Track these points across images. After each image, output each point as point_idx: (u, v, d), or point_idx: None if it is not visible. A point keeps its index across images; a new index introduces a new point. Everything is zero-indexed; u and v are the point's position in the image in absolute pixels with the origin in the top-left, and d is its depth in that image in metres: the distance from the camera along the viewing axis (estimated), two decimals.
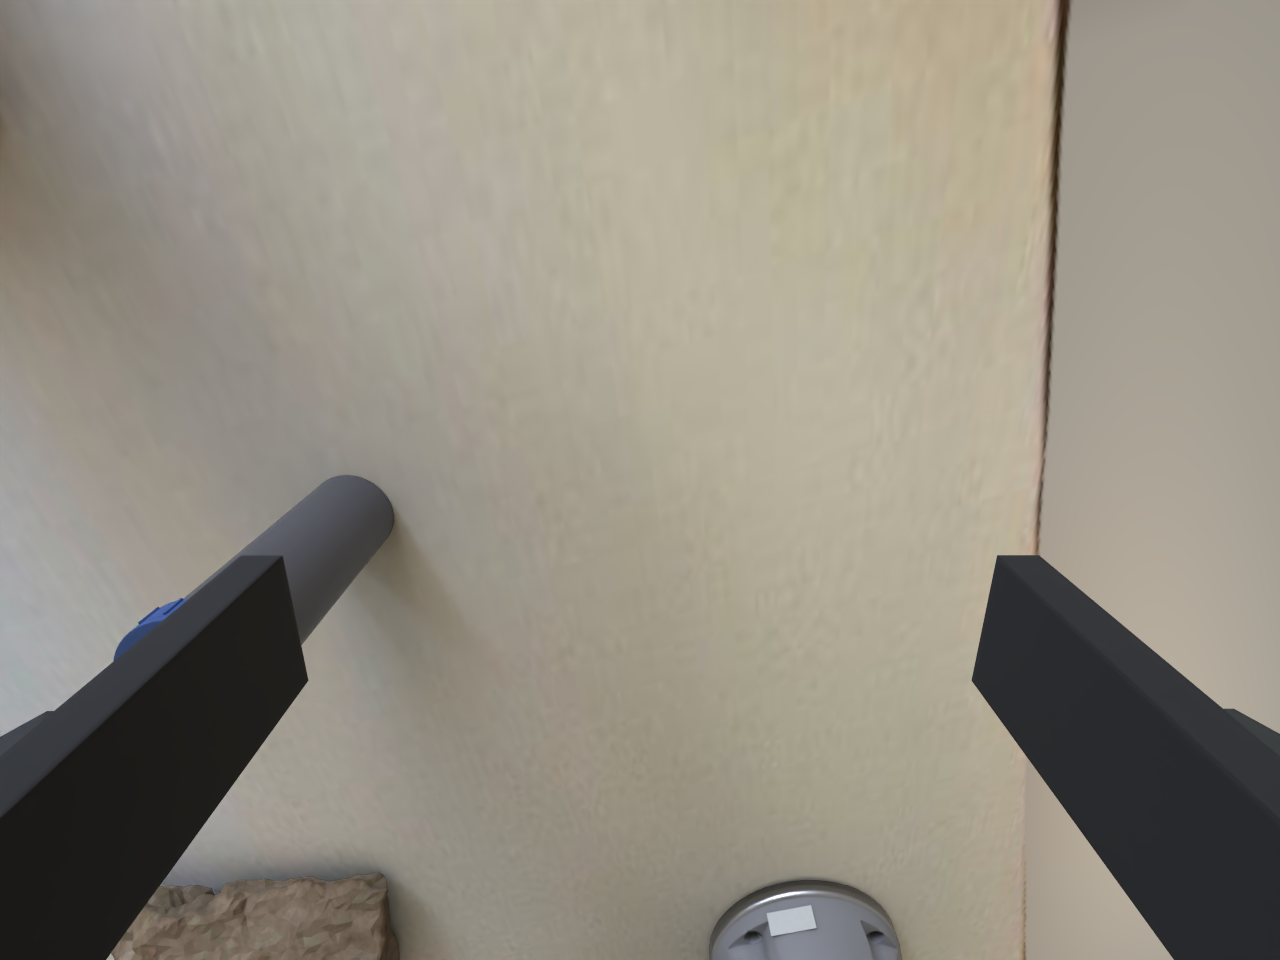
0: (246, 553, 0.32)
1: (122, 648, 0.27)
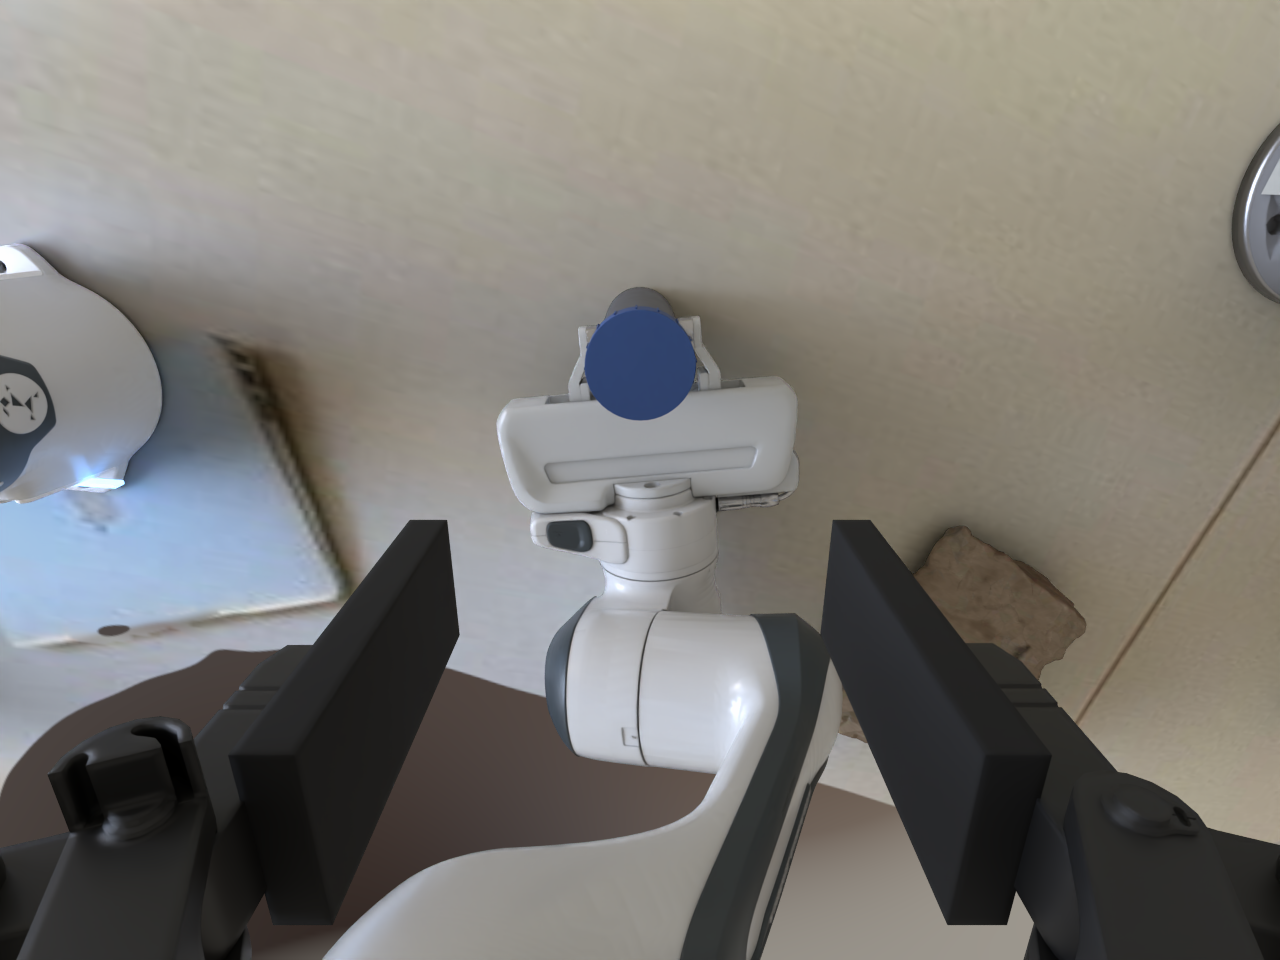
0: None
1: (593, 388, 0.36)
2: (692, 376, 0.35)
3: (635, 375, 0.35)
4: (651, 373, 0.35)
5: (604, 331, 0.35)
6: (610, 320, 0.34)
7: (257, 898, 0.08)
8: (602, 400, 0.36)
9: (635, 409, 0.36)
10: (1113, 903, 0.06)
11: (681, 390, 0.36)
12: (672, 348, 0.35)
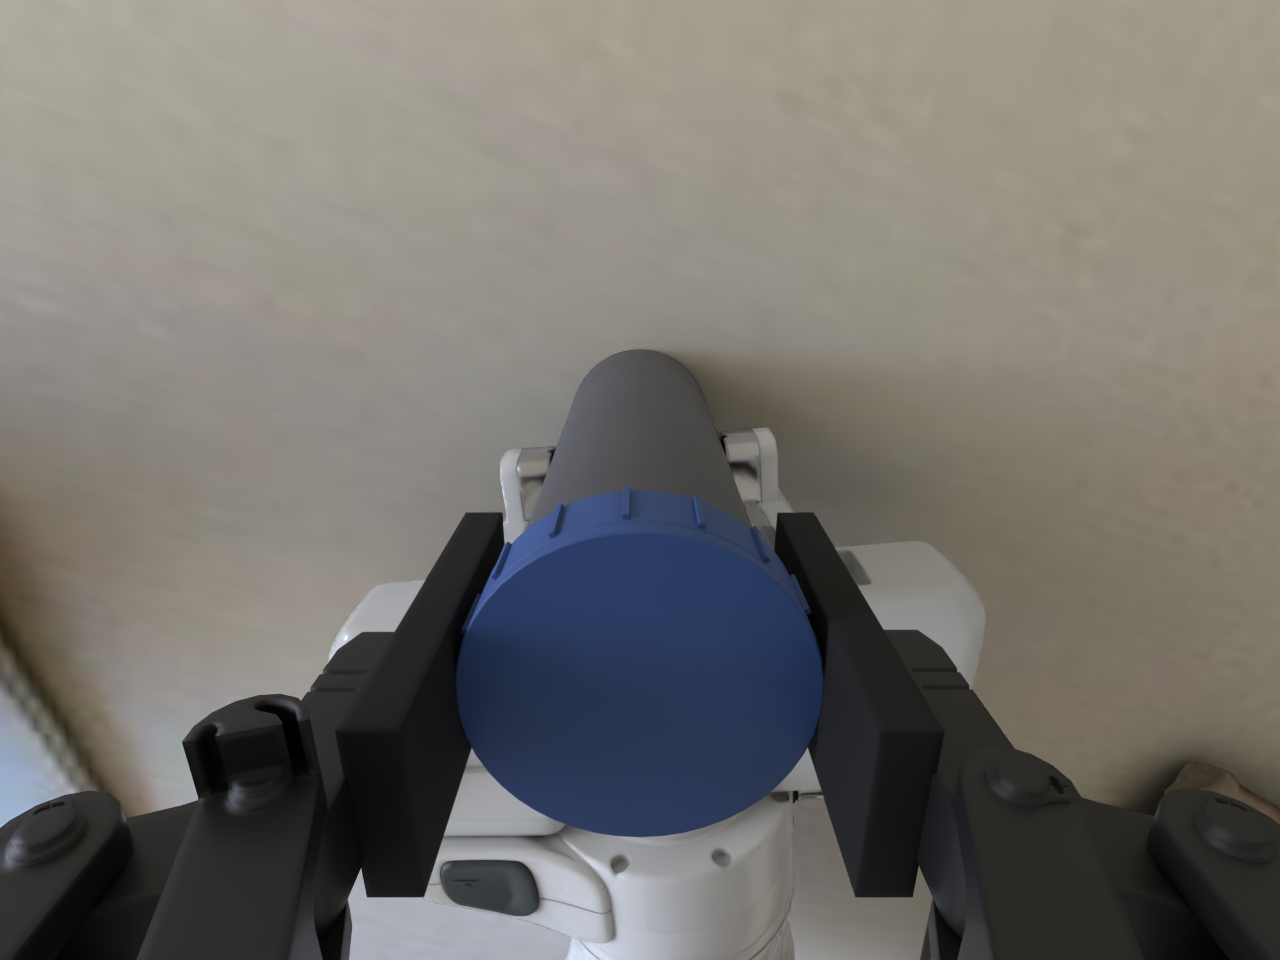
0: None
1: (488, 756, 0.11)
2: (810, 725, 0.11)
3: (623, 722, 0.11)
4: (676, 717, 0.11)
5: (515, 597, 0.10)
6: (535, 564, 0.10)
7: (356, 870, 0.09)
8: (519, 787, 0.11)
9: (624, 810, 0.11)
10: (994, 875, 0.06)
11: (772, 762, 0.11)
12: (748, 648, 0.10)
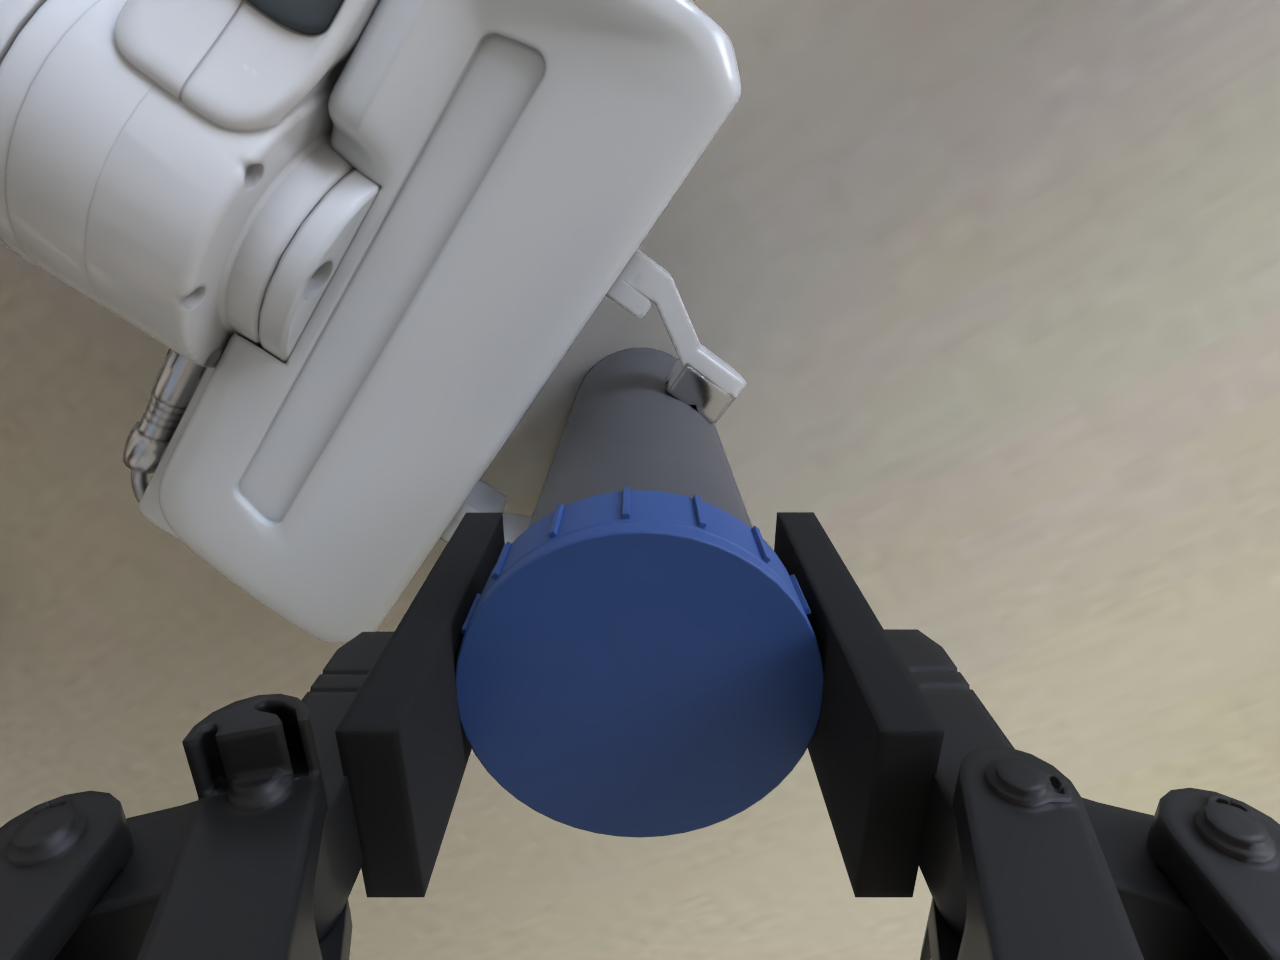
0: (728, 469, 0.17)
1: (488, 756, 0.11)
2: (810, 725, 0.11)
3: (623, 722, 0.11)
4: (676, 717, 0.11)
5: (515, 597, 0.10)
6: (535, 564, 0.10)
7: (357, 870, 0.09)
8: (519, 787, 0.11)
9: (624, 810, 0.11)
10: (994, 875, 0.06)
11: (772, 762, 0.11)
12: (748, 648, 0.10)
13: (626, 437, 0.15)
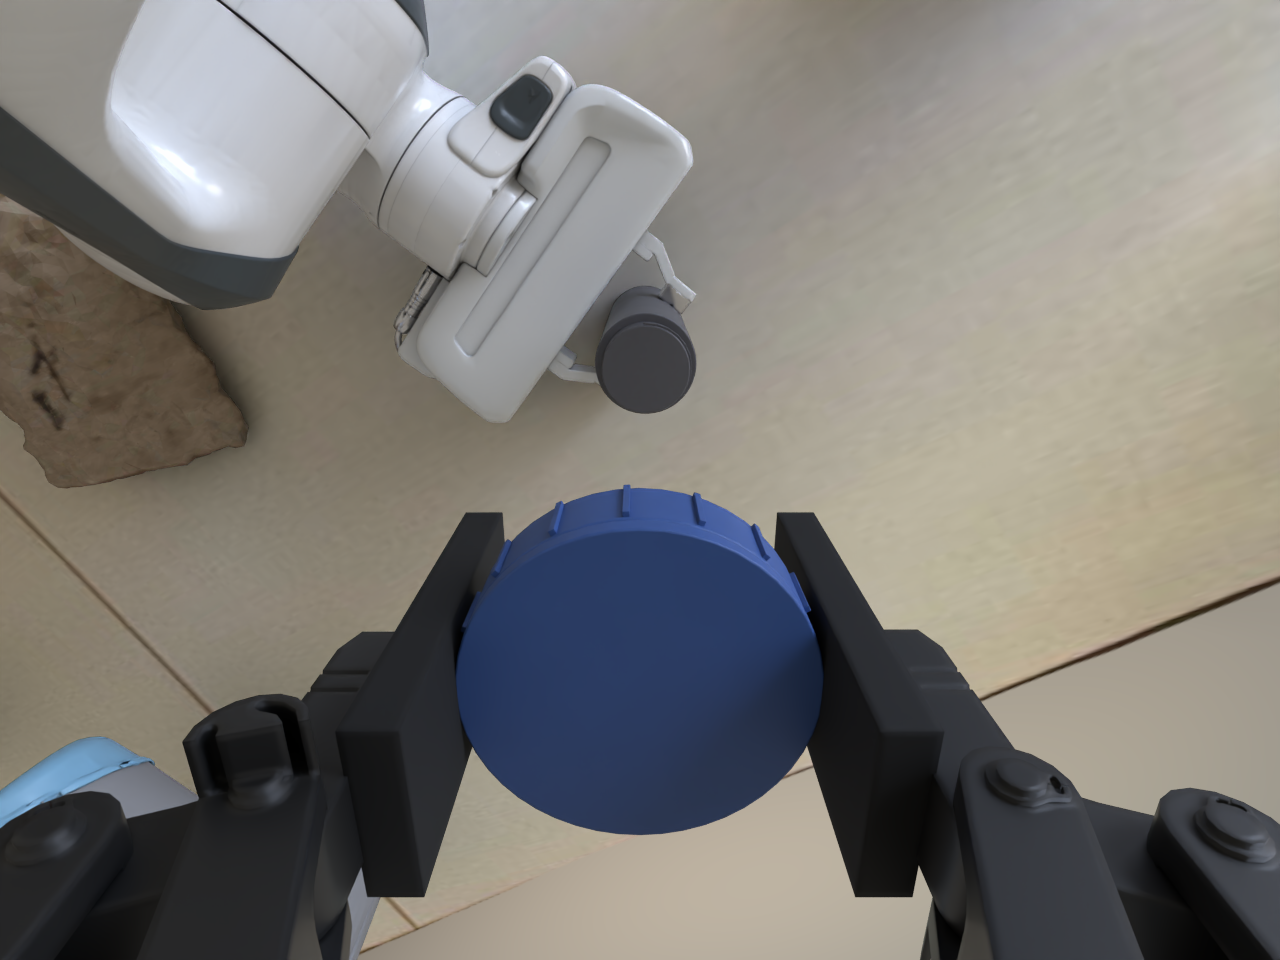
0: (684, 325, 0.38)
1: (488, 754, 0.11)
2: (810, 723, 0.11)
3: (623, 720, 0.11)
4: (676, 714, 0.11)
5: (515, 595, 0.10)
6: (534, 562, 0.10)
7: (357, 869, 0.09)
8: (519, 785, 0.11)
9: (624, 808, 0.11)
10: (994, 875, 0.06)
11: (771, 759, 0.11)
12: (748, 645, 0.10)
13: (641, 305, 0.37)
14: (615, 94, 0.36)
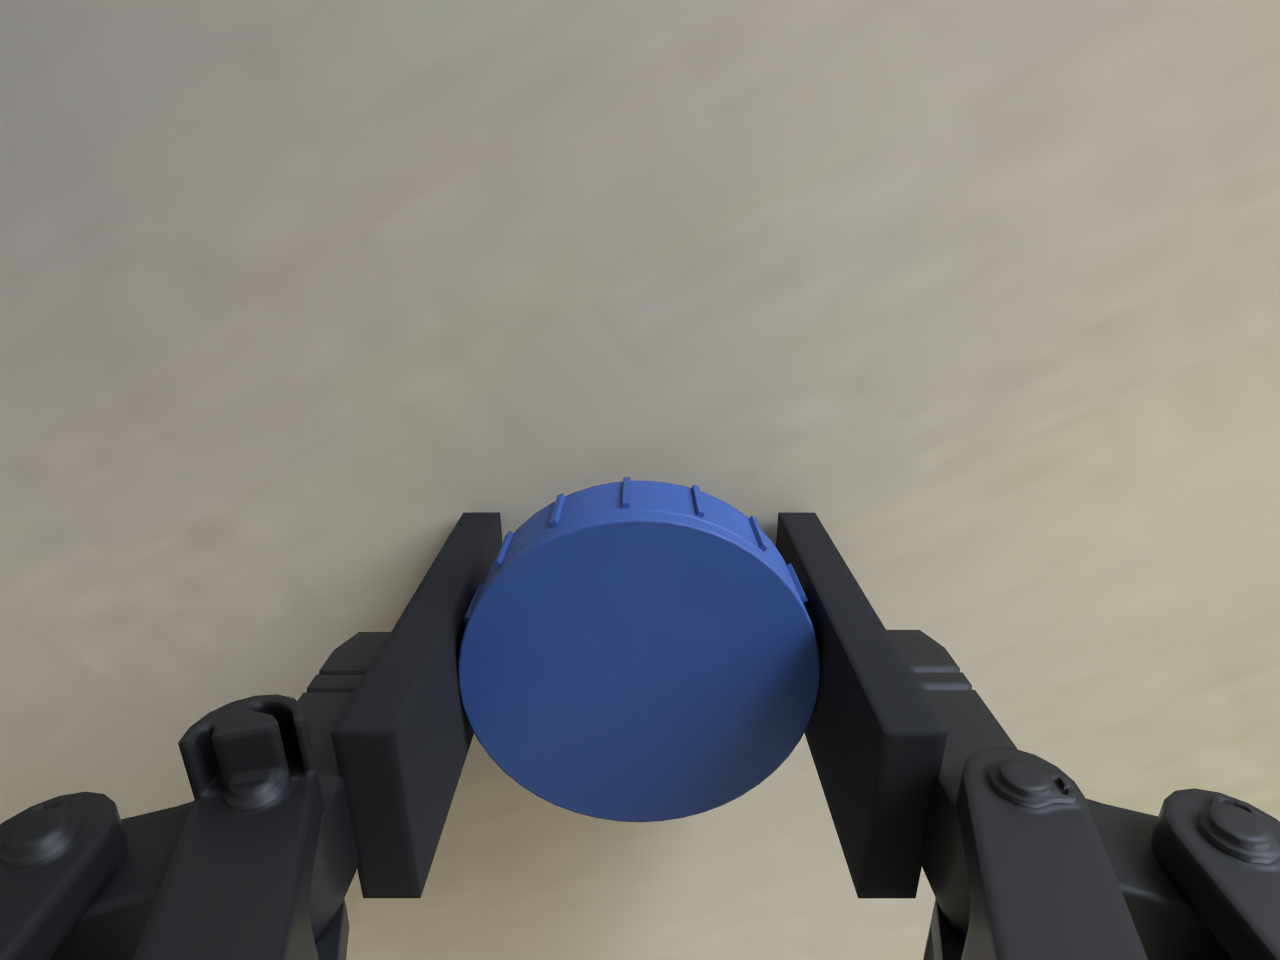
0: None
1: (490, 742, 0.11)
2: (806, 711, 0.11)
3: (623, 708, 0.11)
4: (675, 703, 0.11)
5: (518, 585, 0.10)
6: (536, 552, 0.10)
7: (352, 870, 0.09)
8: (521, 772, 0.11)
9: (624, 795, 0.12)
10: (997, 876, 0.06)
11: (769, 747, 0.11)
12: (746, 634, 0.11)
13: None
14: None
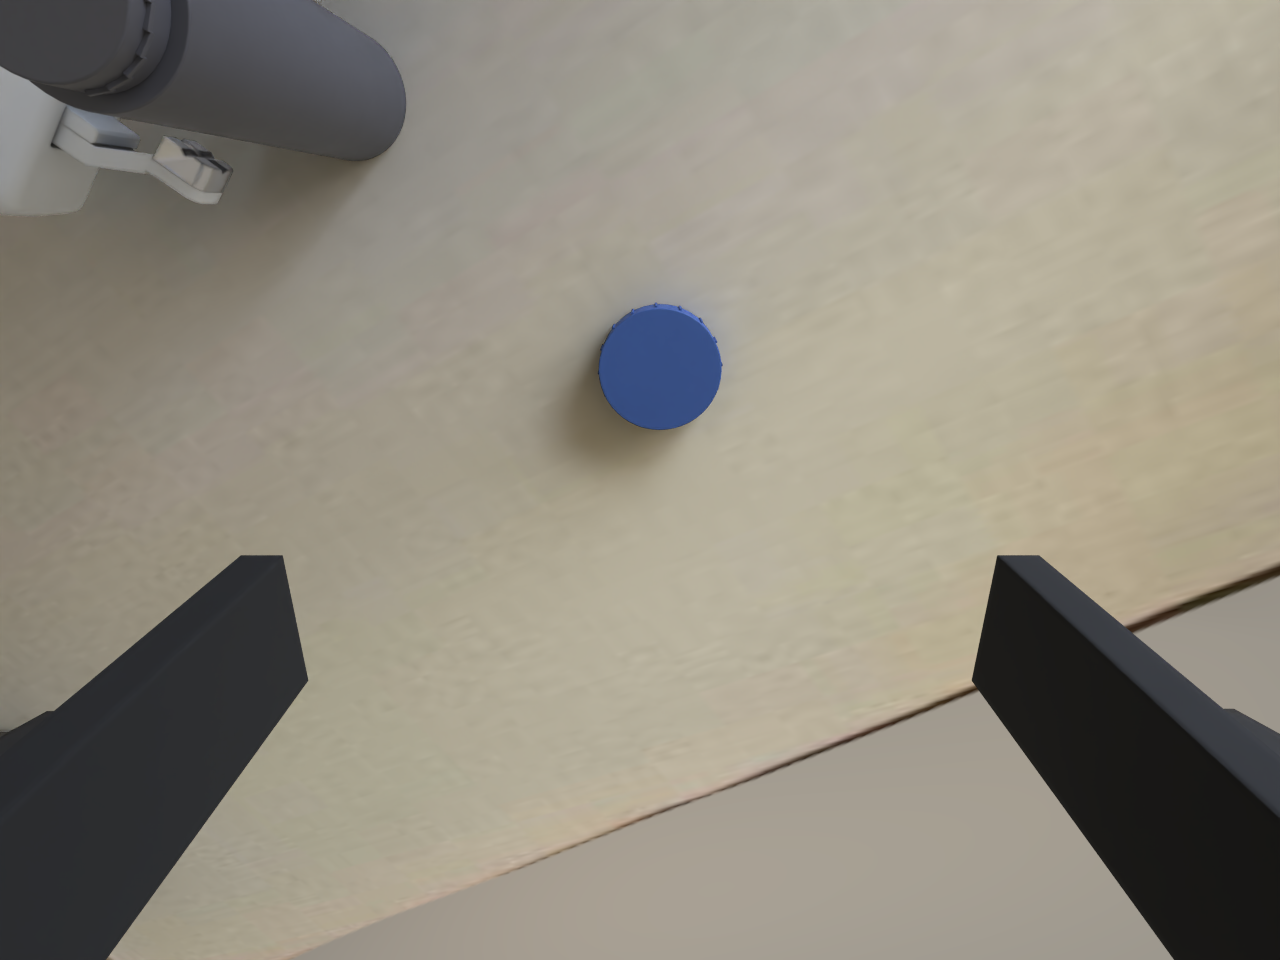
0: None
1: (608, 394, 0.32)
2: (717, 381, 0.32)
3: (654, 380, 0.32)
4: (672, 378, 0.32)
5: (620, 332, 0.31)
6: (627, 320, 0.31)
7: None
8: (618, 407, 0.33)
9: (654, 417, 0.33)
10: None
11: (705, 397, 0.32)
12: (695, 351, 0.32)
13: None
14: None
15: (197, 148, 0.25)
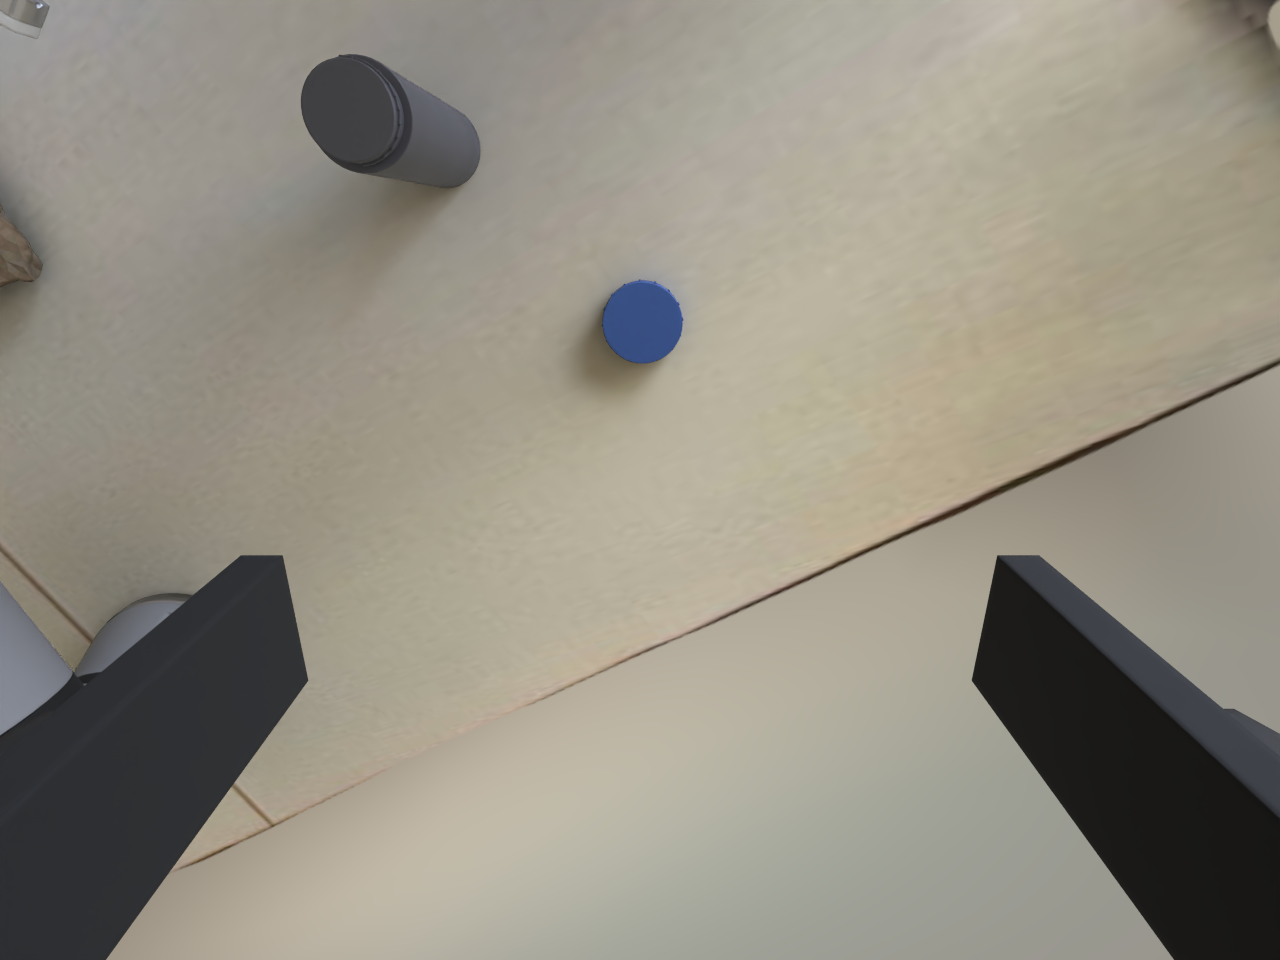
0: (428, 99, 0.37)
1: (609, 339, 0.50)
2: (679, 330, 0.49)
3: (639, 330, 0.49)
4: (650, 328, 0.49)
5: (617, 298, 0.49)
6: (621, 290, 0.48)
7: None
8: (615, 348, 0.50)
9: (639, 355, 0.50)
10: None
11: (672, 340, 0.50)
12: (665, 310, 0.49)
13: None
14: None
15: None
